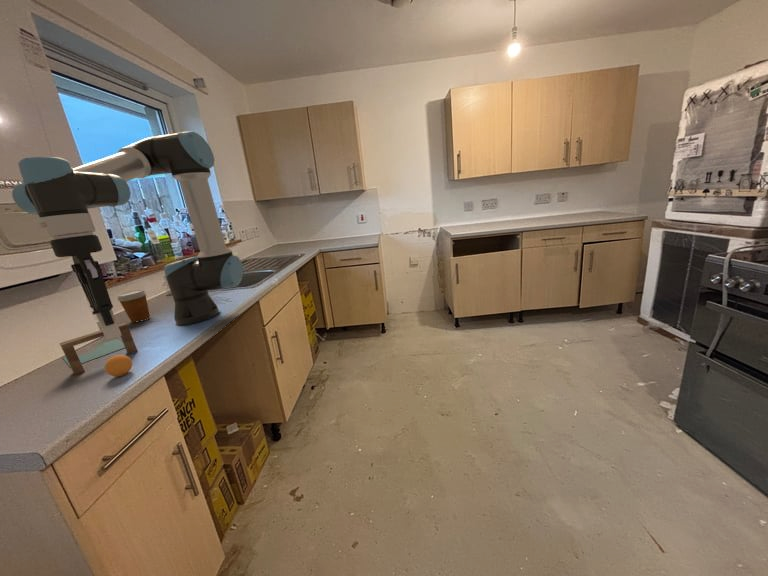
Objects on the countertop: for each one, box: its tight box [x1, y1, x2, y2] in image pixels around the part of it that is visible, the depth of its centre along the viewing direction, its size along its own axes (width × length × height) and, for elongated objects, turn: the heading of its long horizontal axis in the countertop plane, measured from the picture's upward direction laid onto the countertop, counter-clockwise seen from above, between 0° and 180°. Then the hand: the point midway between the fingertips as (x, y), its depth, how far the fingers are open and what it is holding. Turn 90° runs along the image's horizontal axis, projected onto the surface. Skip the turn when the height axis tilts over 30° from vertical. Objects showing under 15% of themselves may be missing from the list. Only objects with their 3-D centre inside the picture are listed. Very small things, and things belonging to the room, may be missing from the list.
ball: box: [104, 354, 133, 377], centre depth 82 cm, size 6×6×6 cm
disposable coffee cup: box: [116, 288, 151, 323], centre depth 127 cm, size 10×10×12 cm
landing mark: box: [62, 338, 125, 367], centre depth 100 cm, size 14×14×1 cm
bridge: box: [59, 322, 138, 376], centre depth 91 cm, size 3×14×9 cm, turn 143°
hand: (113, 337), depth 72 cm, fingers closed
